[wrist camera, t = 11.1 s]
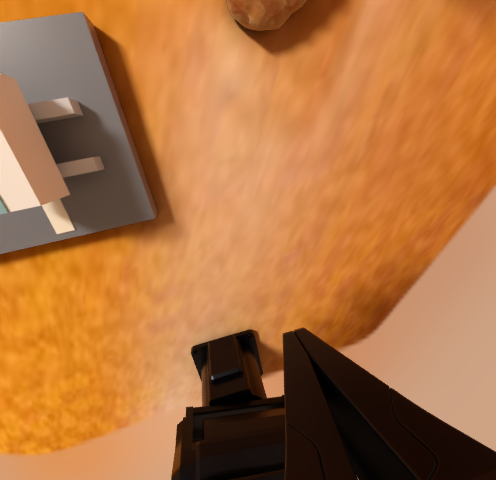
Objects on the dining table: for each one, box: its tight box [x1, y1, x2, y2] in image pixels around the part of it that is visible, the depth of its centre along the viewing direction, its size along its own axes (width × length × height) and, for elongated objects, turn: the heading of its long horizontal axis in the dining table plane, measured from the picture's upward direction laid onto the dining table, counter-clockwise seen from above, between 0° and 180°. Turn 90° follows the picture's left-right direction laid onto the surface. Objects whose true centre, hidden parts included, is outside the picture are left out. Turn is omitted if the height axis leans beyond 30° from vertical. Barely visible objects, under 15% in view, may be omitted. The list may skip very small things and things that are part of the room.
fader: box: [0, 73, 70, 214], centre depth 13 cm, size 6×4×5 cm, turn 11°
